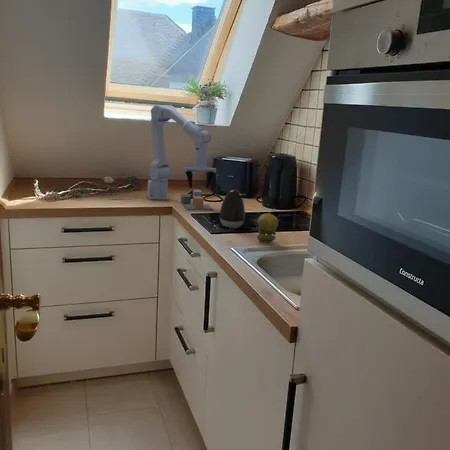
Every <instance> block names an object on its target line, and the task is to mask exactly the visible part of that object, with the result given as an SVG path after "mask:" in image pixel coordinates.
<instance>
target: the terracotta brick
mask: <svg viewBox="0 0 450 450" xmlns="http://www.w3.org/2000/svg"><path fill="white" fill-rule="evenodd" d="M191 204H192V205H193V206H194V207H195V208H203V204H204V198H203V196H202V197H201V196H193V195H192V202H191Z"/></svg>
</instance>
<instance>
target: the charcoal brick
mask: <svg viewBox="0 0 450 450" xmlns="http://www.w3.org/2000/svg"><path fill="white" fill-rule="evenodd" d="M180 203H181V204H182V205H183V204H192V196H191V195H190V194H189V193H181V194H180Z"/></svg>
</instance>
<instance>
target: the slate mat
mask: <svg viewBox="0 0 450 450" xmlns="http://www.w3.org/2000/svg"><path fill="white" fill-rule="evenodd" d="M182 205H183V207H184V208H185V210H186V209H187V210H186V211H214V208H213V207H212V206H211V205H210V204H207V203H206V204H205V203H203V208H195V207H194V206H193V205H192V203H191V204H182Z"/></svg>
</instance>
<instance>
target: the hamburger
mask: <svg viewBox="0 0 450 450" xmlns="http://www.w3.org/2000/svg"><path fill="white" fill-rule="evenodd" d="M257 225H258V226H259V227H257V229H258V231H257V233H258V235H256V238H257V240H258V241H259V242H263V241H267V242H266V243H268V241H270V242H274V241H275V240H276V238H277V237H276V235H277V233H276V232H277V227H278V226H279V220H278V218H277V217H276V216H275V215H274V214H272V213H271V212H266V213H263V214H261V215H260V216H258V218H257Z"/></svg>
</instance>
